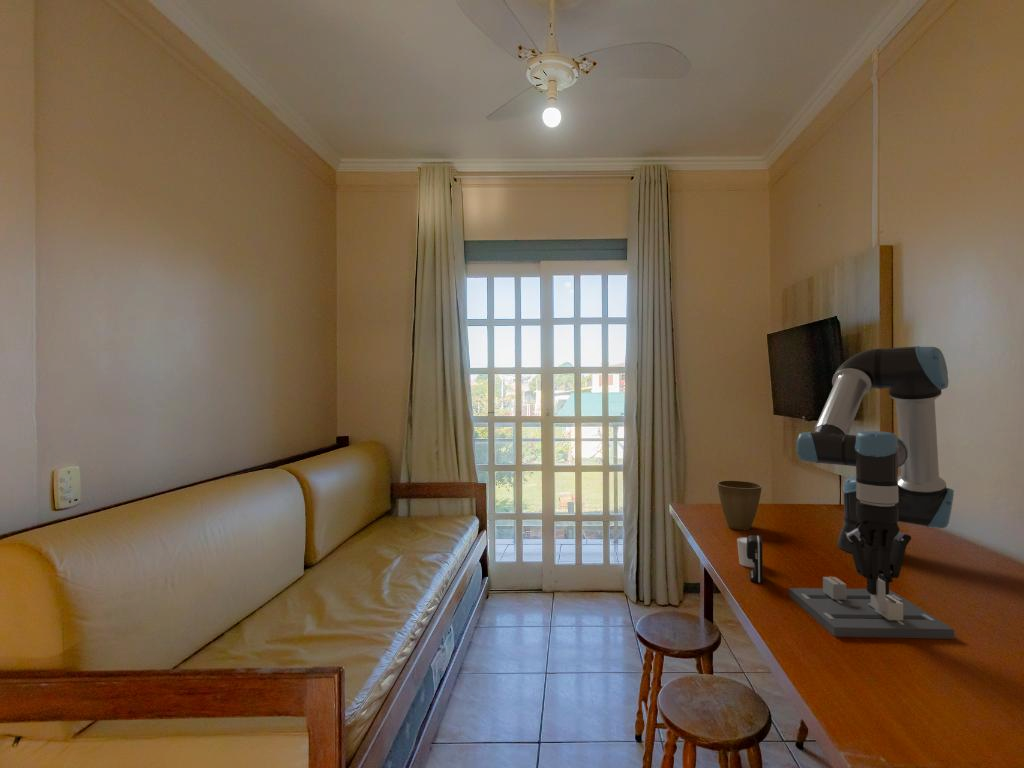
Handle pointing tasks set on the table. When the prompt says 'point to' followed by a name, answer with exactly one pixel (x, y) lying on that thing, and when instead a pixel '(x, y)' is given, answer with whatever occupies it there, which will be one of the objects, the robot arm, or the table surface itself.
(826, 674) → the table surface
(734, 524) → the plant pot
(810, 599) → the console
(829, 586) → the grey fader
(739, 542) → the grey rimmed cylinder
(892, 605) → the cream fader
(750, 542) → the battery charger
